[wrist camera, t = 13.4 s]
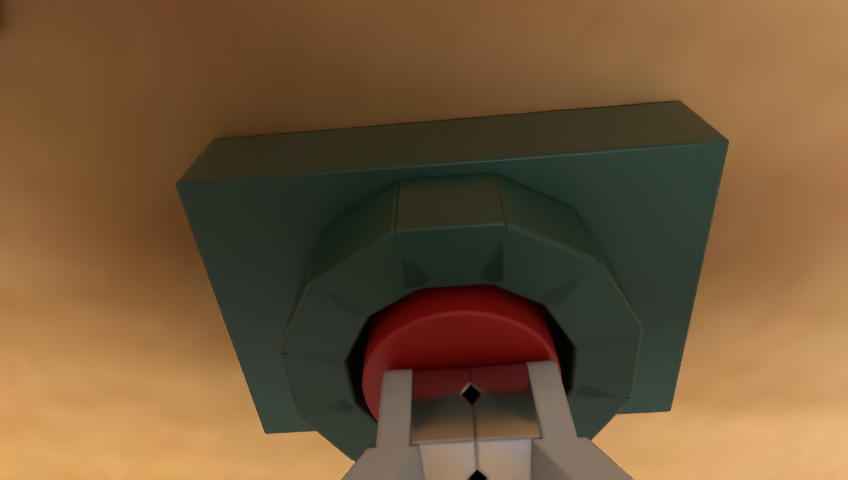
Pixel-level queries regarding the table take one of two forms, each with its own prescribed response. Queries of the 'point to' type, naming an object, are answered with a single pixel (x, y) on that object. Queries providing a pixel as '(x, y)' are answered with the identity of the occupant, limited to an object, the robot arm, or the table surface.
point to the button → (454, 333)
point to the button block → (459, 248)
